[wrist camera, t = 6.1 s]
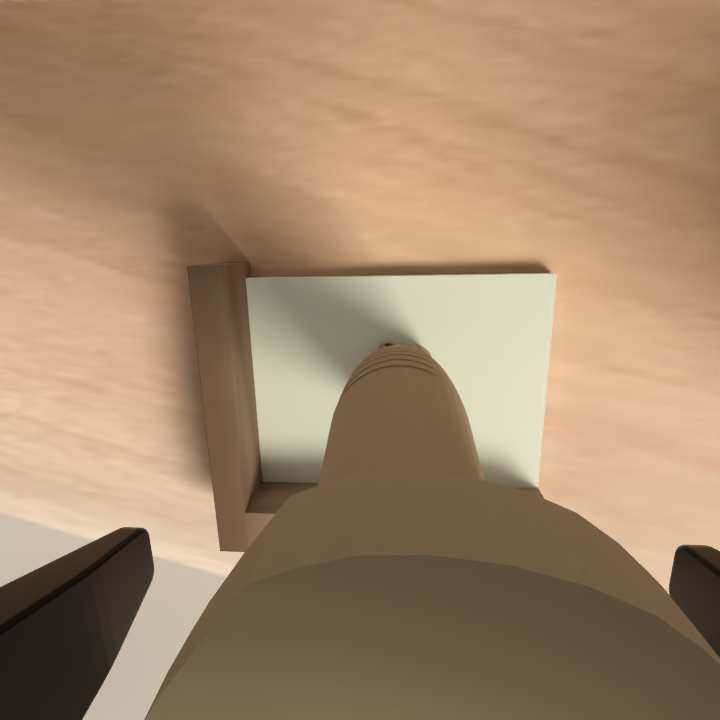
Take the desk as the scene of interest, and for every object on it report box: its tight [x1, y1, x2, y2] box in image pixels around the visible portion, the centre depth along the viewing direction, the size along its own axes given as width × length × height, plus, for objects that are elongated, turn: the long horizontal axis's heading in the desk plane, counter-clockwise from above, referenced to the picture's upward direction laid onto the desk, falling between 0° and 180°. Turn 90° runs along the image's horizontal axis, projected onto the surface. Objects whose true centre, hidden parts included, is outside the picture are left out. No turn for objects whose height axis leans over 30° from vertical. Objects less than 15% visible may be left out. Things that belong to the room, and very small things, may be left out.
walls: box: [187, 262, 544, 552], centre depth 18 cm, size 13×11×3 cm
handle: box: [145, 340, 720, 720], centre depth 11 cm, size 5×6×15 cm
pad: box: [246, 273, 557, 488], centre depth 18 cm, size 12×9×1 cm
